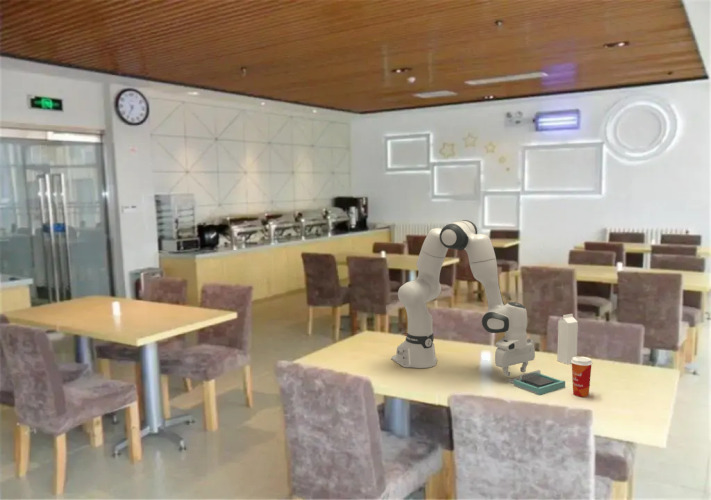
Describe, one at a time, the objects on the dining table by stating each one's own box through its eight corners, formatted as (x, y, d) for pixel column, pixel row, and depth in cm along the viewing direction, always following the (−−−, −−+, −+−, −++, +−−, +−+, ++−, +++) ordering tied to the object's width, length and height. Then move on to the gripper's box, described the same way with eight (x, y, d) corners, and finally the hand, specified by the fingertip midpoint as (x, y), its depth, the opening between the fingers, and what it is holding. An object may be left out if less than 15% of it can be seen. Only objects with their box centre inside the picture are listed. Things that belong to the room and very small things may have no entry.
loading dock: (502, 383, 241) (502, 375, 240) (527, 376, 249) (527, 368, 248) (539, 397, 225) (539, 388, 224) (565, 389, 232) (565, 381, 232)
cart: (519, 383, 235) (519, 375, 235) (538, 378, 241) (538, 370, 241) (537, 390, 228) (537, 381, 227) (556, 384, 233) (556, 375, 233)
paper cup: (566, 391, 228) (567, 356, 226) (585, 390, 229) (586, 355, 227) (575, 398, 220) (576, 362, 219) (595, 397, 221) (596, 361, 219)
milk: (557, 361, 267) (557, 313, 264) (566, 359, 269) (567, 312, 267) (567, 364, 261) (568, 316, 259) (577, 362, 264) (578, 314, 262)
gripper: (527, 336, 251) (526, 367, 252) (492, 343, 240) (492, 376, 242) (538, 339, 245) (538, 371, 247) (504, 347, 235) (503, 380, 236)
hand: (515, 373), depth 244 cm, fingers open, 8 cm apart
